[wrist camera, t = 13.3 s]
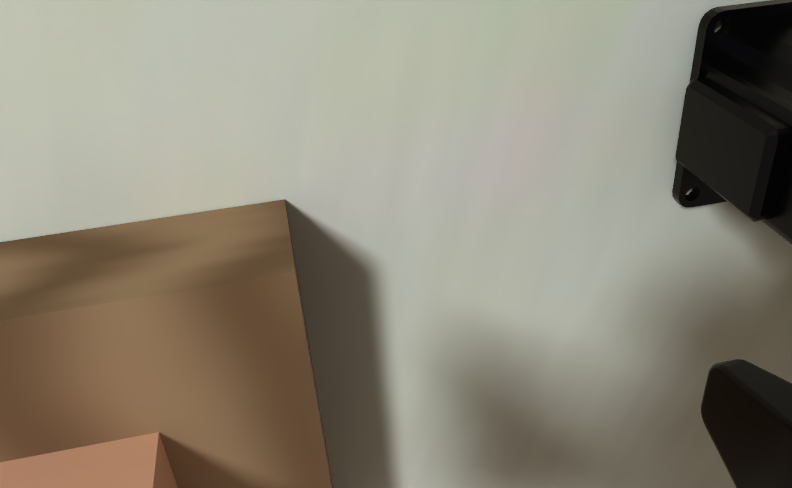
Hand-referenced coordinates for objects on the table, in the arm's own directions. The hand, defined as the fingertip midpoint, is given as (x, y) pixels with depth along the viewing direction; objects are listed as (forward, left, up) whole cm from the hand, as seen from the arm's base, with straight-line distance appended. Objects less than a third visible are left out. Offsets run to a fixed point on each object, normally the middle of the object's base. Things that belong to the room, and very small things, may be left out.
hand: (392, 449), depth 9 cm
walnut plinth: (+8, +10, -13) cm, 18 cm away
